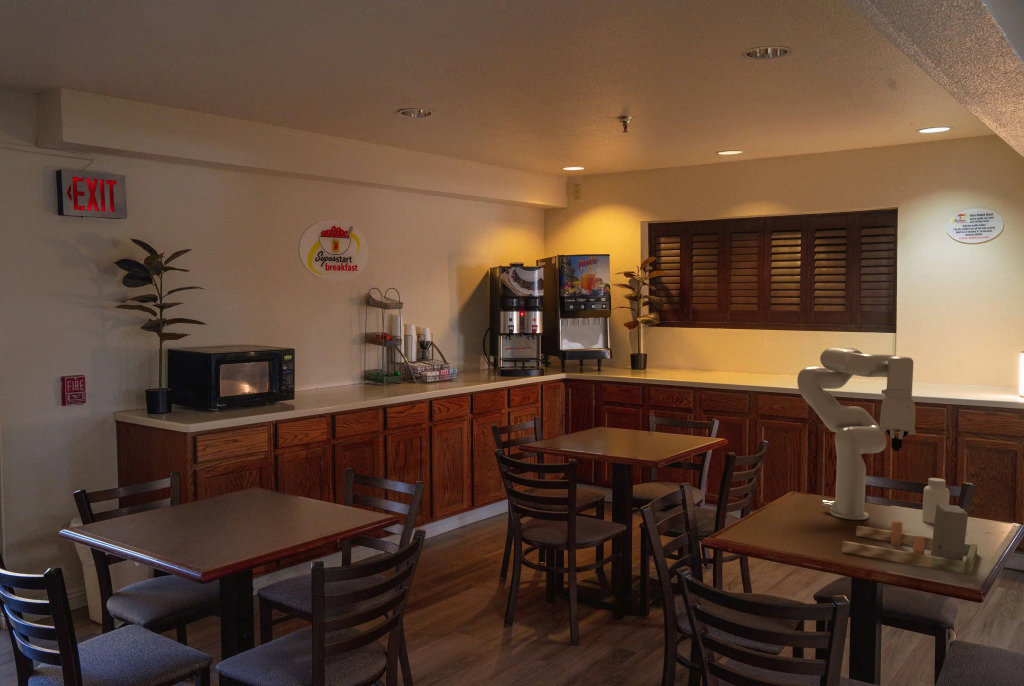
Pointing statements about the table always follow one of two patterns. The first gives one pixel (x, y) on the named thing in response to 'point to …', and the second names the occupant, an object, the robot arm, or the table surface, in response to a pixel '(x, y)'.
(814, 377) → the robot arm
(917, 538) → the post
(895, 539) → the post
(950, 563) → the lane
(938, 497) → the pill bottle
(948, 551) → the skincare box
